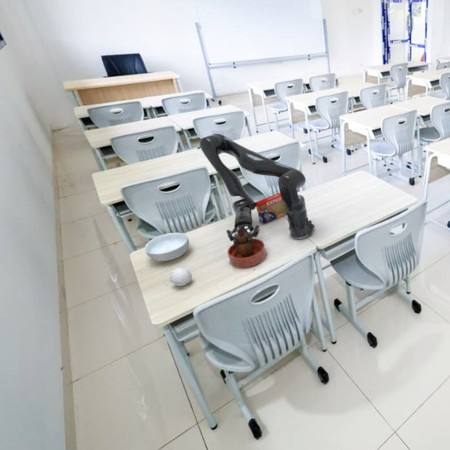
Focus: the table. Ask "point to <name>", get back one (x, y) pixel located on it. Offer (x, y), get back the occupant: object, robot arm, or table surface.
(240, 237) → the wooden figurine
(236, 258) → the bowl
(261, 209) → the toy box
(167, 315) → the table surface
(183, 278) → the white oval solid
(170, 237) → the cereal bowl
